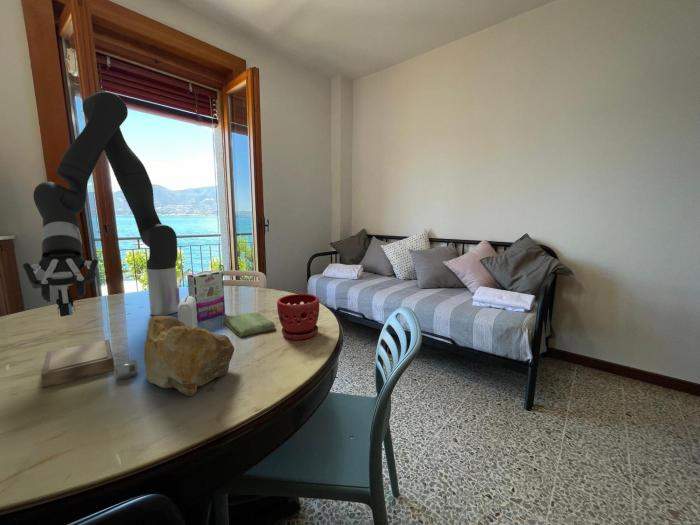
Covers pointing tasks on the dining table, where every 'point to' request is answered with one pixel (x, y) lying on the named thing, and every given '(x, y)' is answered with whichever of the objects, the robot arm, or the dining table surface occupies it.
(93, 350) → the tray
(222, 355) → the rough brown rock
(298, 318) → the plant pot
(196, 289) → the candy bar box
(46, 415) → the dining table surface
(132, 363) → the cylinder
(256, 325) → the washcloth
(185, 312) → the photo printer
